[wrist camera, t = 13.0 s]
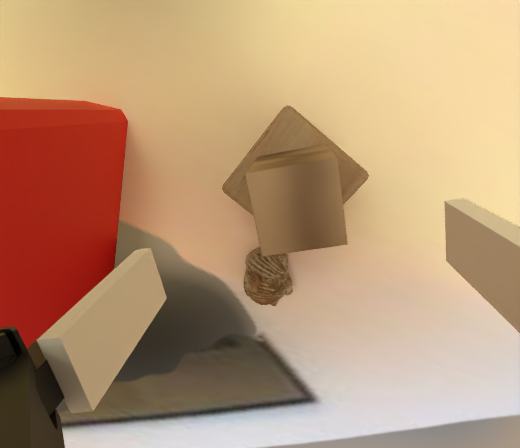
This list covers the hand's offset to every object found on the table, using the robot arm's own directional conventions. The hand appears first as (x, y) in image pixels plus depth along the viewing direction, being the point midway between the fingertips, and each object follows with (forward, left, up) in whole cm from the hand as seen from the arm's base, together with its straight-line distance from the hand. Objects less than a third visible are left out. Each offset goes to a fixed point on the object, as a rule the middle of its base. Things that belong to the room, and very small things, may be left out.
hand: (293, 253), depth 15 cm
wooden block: (0, 0, -37) cm, 37 cm away
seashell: (-7, -18, -37) cm, 42 cm away
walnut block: (0, 0, -17) cm, 17 cm away
